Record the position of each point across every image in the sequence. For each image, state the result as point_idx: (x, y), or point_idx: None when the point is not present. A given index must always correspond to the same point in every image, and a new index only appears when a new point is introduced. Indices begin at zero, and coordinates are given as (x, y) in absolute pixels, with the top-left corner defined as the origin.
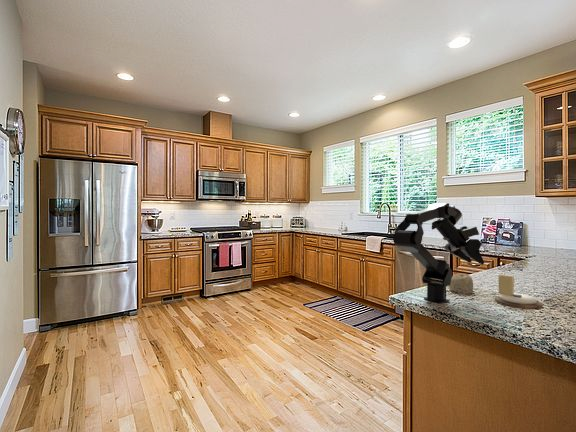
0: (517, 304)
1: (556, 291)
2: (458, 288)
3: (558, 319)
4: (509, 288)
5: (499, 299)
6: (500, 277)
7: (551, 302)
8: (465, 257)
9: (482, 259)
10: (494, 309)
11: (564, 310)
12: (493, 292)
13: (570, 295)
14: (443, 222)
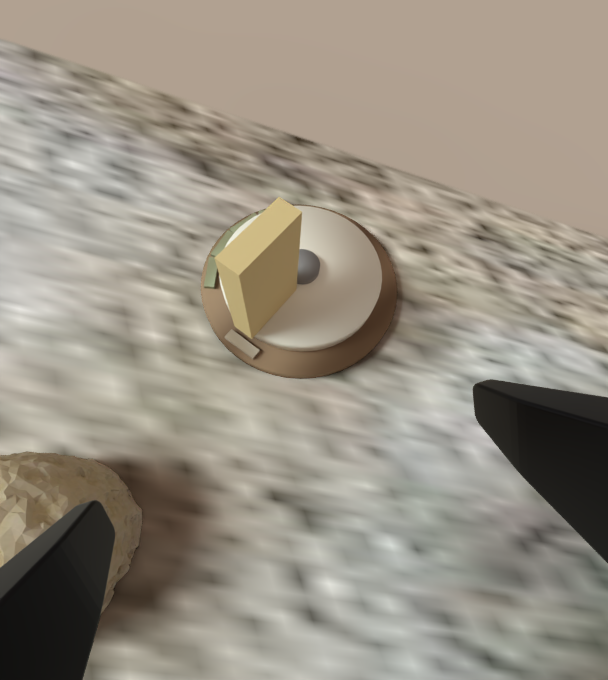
0: (380, 302)
1: (22, 83)
2: (112, 584)
3: (499, 229)
4: (288, 275)
5: (306, 356)
6: (251, 277)
7: (240, 165)
8: (46, 665)
9: (563, 398)
10: None
11: (355, 170)
12: (82, 337)
13: (94, 71)
14: None
